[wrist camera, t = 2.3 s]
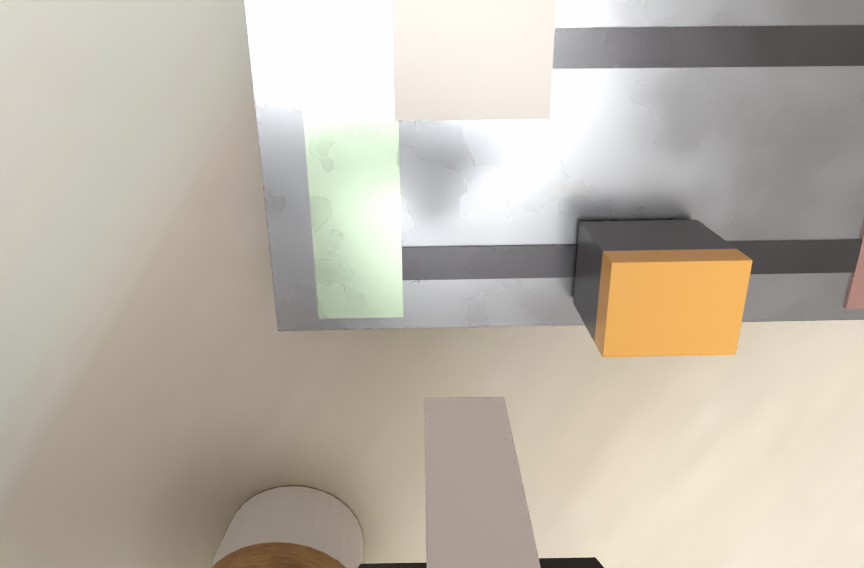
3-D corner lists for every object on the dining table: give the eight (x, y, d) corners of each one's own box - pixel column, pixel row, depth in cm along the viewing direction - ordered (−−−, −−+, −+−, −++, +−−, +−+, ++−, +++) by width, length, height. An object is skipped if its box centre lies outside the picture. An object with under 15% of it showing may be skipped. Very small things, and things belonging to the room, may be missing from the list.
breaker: (397, 101, 21) (394, 120, 17) (394, -4, 20) (391, -7, 16) (525, 99, 21) (549, 118, 18) (530, -5, 20) (556, -8, 16)
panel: (285, 312, 26) (277, 332, 24) (224, -317, 19) (207, -347, 17) (930, 300, 26) (963, 318, 25) (1110, -314, 19) (1173, -343, 18)
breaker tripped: (573, 303, 24) (602, 357, 20) (579, 221, 23) (612, 262, 19) (685, 301, 24) (735, 354, 20) (697, 219, 23) (752, 260, 19)
